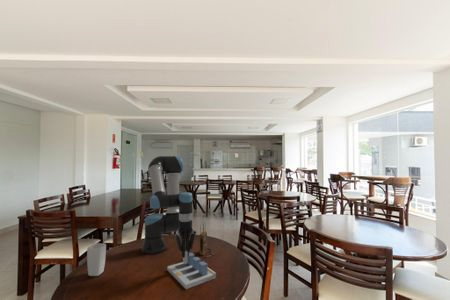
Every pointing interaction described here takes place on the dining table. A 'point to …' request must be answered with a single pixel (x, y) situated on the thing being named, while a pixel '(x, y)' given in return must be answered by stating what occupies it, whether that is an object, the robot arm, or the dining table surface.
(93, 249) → the cup
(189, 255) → the tab
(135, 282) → the dining table surface
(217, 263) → the dining table surface
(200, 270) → the tab
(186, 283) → the switch bank
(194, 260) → the tab
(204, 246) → the multimeter
